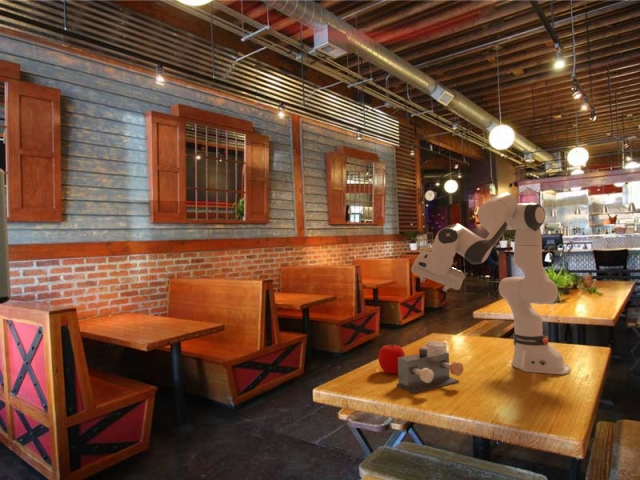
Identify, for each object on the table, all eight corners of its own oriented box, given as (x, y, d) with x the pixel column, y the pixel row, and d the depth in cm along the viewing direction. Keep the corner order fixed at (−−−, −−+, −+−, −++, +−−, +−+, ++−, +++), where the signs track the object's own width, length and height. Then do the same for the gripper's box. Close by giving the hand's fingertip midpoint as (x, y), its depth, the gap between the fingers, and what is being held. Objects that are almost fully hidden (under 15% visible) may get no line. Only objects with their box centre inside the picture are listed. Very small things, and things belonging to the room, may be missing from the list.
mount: (458, 382, 173) (457, 354, 173) (413, 393, 163) (412, 364, 163) (441, 375, 182) (440, 349, 182) (396, 385, 172) (395, 358, 172)
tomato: (411, 374, 185) (410, 345, 185) (388, 379, 180) (387, 348, 180) (395, 367, 196) (394, 339, 196) (373, 371, 192) (372, 342, 192)
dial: (428, 354, 175) (428, 345, 175) (425, 356, 172) (425, 347, 172) (421, 353, 177) (420, 345, 177) (418, 355, 174) (417, 346, 174)
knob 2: (463, 374, 169) (463, 361, 169) (453, 376, 167) (453, 363, 167) (446, 368, 177) (446, 356, 177) (437, 370, 175) (436, 358, 175)
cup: (448, 374, 183) (447, 346, 183) (426, 374, 185) (425, 346, 185) (446, 368, 192) (445, 341, 192) (425, 367, 194) (424, 340, 194)
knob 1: (433, 381, 162) (433, 368, 162) (423, 384, 160) (422, 370, 160) (417, 374, 170) (417, 362, 170) (407, 377, 168) (406, 364, 168)
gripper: (468, 267, 167) (460, 289, 177) (417, 249, 174) (412, 271, 184) (464, 278, 163) (456, 301, 173) (412, 259, 170) (407, 281, 180)
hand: (433, 285), depth 178 cm, fingers open, 8 cm apart
